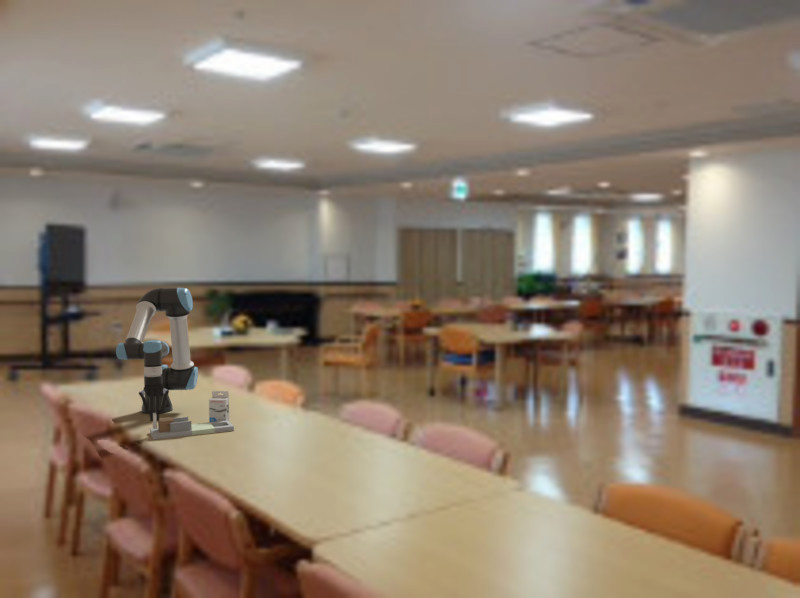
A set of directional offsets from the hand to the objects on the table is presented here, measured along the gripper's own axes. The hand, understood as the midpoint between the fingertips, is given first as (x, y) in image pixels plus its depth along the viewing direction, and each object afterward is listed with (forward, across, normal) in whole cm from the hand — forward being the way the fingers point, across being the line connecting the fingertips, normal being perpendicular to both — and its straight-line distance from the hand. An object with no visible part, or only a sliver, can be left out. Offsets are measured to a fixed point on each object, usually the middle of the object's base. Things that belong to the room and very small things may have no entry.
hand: (154, 428), depth 321 cm
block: (+2, +5, 0) cm, 5 cm away
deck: (+3, +16, 0) cm, 16 cm away
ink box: (+4, +30, +13) cm, 33 cm away
